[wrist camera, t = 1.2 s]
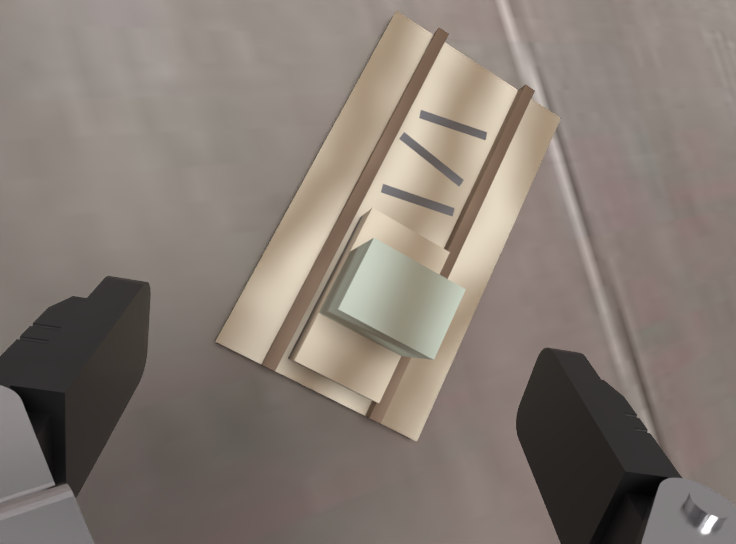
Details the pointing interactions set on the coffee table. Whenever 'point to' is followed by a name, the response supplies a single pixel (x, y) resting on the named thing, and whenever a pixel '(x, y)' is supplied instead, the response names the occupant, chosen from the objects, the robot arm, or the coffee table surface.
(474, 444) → the coffee table surface
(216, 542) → the coffee table surface
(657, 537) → the robot arm
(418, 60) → the birch plank
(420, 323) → the block
